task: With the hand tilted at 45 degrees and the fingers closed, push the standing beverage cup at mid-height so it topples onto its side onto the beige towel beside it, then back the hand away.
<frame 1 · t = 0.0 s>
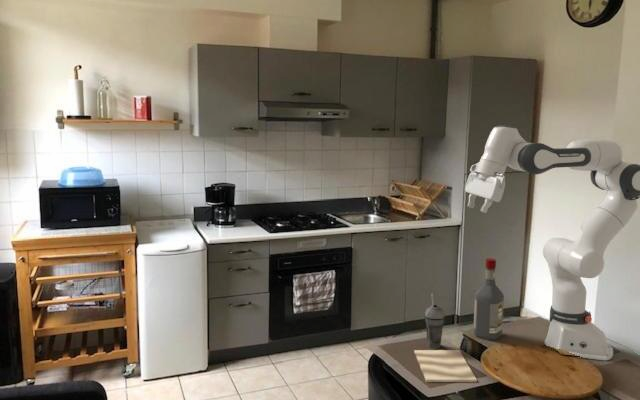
hand: (476, 209, 186), 52 cm above the table, tool tilted 20°, fingers open, 8 cm apart
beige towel: (443, 366, 185), on the table
liquor: (487, 335, 211), on the table
beverage cup: (433, 346, 201), on the table
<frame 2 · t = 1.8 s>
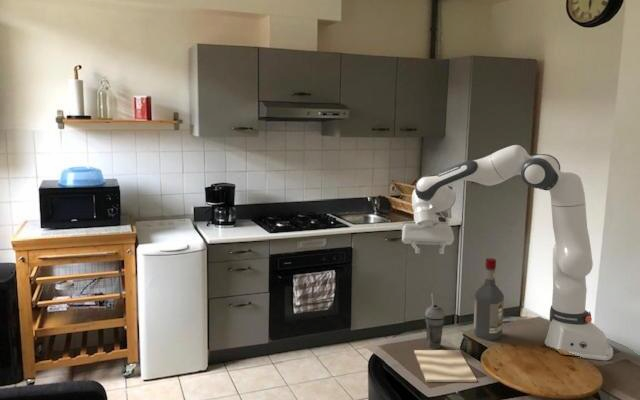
hand: (429, 252, 212), 31 cm above the table, tool tilted 45°, fingers open, 8 cm apart
nothing on the table moved.
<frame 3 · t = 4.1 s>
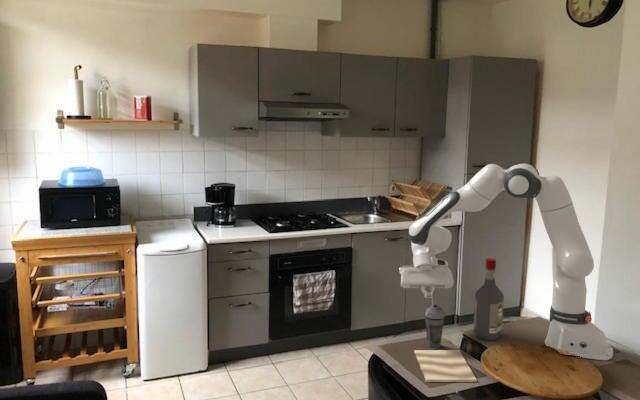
hand: (428, 297, 209), 15 cm above the table, tool tilted 45°, fingers closed
nothing on the table moved.
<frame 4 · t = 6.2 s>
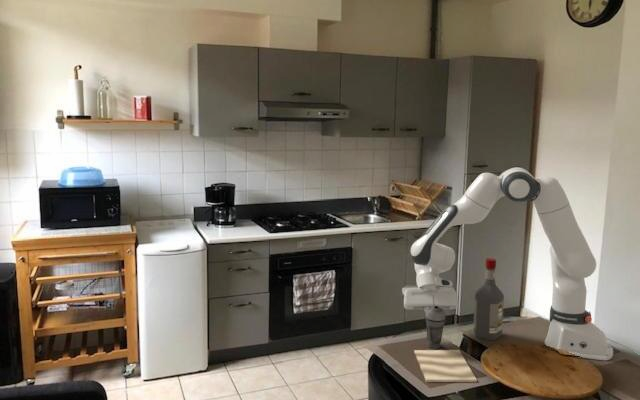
hand: (433, 319, 202), 9 cm above the table, tool tilted 45°, fingers closed
beverage cup: (433, 346, 201), on the table, touching gripper
everything else where it was.
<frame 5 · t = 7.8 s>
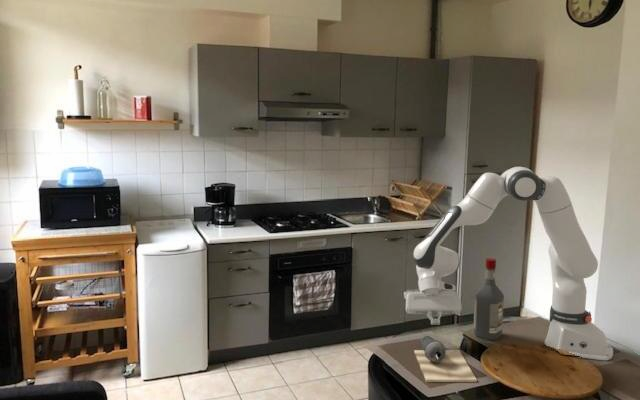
hand: (435, 324, 197), 9 cm above the table, tool tilted 45°, fingers closed
beverage cup: (426, 342, 198), point 3 cm above the table, touching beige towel
everything else where it was.
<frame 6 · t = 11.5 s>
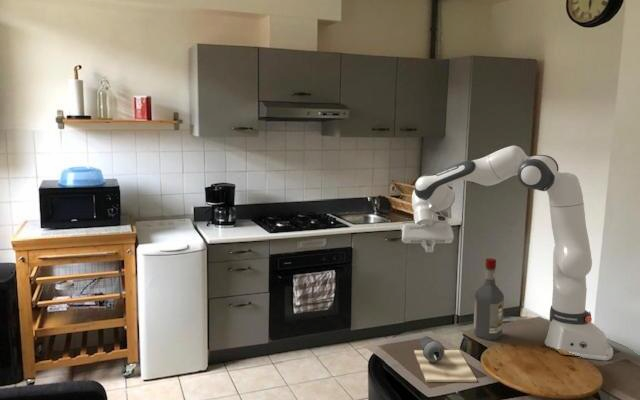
hand: (429, 251, 213), 31 cm above the table, tool tilted 45°, fingers closed
nothing on the table moved.
at the end: beverage cup tilted 81°; beverage cup touching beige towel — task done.
